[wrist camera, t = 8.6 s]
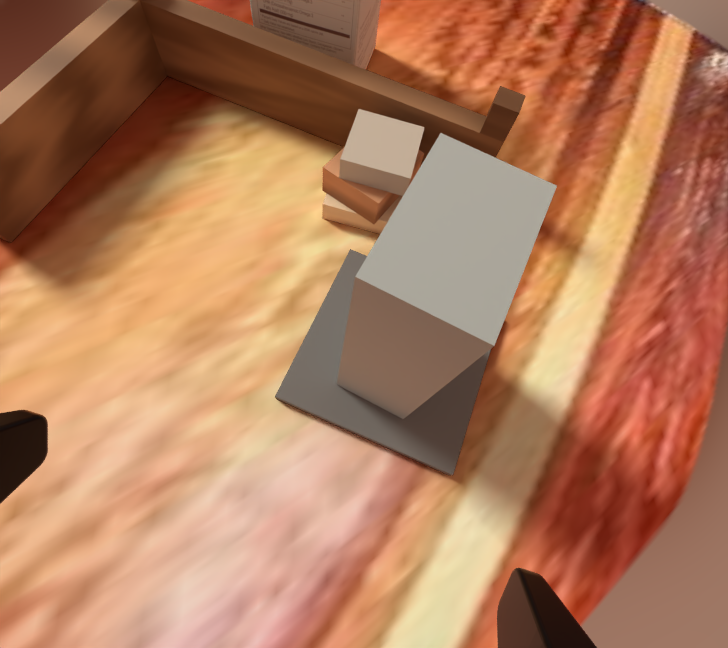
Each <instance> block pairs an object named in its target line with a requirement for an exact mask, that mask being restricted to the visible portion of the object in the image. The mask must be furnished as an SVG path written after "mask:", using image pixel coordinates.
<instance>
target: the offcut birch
mask: <svg viewBox="0 0 728 648" xmlns="http://www.w3.org/2000/svg"><path fill="white" fill-rule="evenodd" d="M408 187H409V186H408ZM402 197H403V196H401V195H400V196H399V197H398V198H397V199H396V200H395V202H394V203H393V204H392V205H391V206H390V207H389V208H388V210H387V211H386V212H385V213H384V214H383V215H382V216H381V217H380V219H379V220H378V221H377V222H376V223H375V224H372V223H371V222H369V221H368V220H366V219H365V218H363V217H362V216H360V215H359V214H357V213H356V212H354V211H353V210H351V209H350V208H348V207H347V206H345V205H344V204H342V203H341V202H339V201H338V200H336V199H335V198H333V197H332V196H330V195H329V194H326V196H325V199H324V202H323V216H322V218H324V219H327V220H331V221H334V222H338V223H342V224H345V225H349V226H352V227H356V228H359V229H363V230H367V231H370V232H374V233H377V234H381V232H382V231H383V229H384V227H385V226H386V224H387V222H388V221H389V219H390V217H391V215H392V214H393V212H394V210H395V209H396V207H397V205H398V204H399V202H400V200H401V199H402Z"/></svg>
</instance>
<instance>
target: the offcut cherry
mask: <svg viewBox="0 0 728 648" xmlns="http://www.w3.org/2000/svg"><path fill="white" fill-rule="evenodd" d="M344 148H345V147H344ZM344 148H343V149H342V150H341V151H339V152H338V153H337V154H336V155H335V156H334V157H333V158H332V159H331V160H330V161H329V162H328V163H327V164H326V165H325V166H324V167H323V191H324V192H326V193H327V194H329V195H330V196H332V197H333V198H335V199H336V200H338V201H339V202H341V203H342V204H344V205H345V206H347V207H348V208H350V209H351V210H353V211H354V212H356V213H357V214H359V215H360V216H362V217H363V218H365V219H366V220H368V221H369V222H371V223H372V224H375V223H376V222H377V221H378V220H379V219H380V217H381V216H382V215H383V214H384V213H385V212H386V211H387V210H388V208H389V207H390V206H391V205H392V204H393V203H394V202H395V200H396V199H397V198H398V197H399V196H400V195H397V194H394V193H390V192H387V191H383V190H380V189H376V188H373V187H369V186H366V185H362V184H359V183H355V182H352V181H348V180H344V179H341V178H339V171H340V158H341V156H342V153H343V150H344ZM423 156H424V153H423V152H422V151H420V150H418V154H417V157H416V161H415V165H414V169H413V172H412V176H411V180H410V183H409V185H410V184H411V182H412V180H413V179H414V177H415V175H416V173H417V172H418V170H419V168H420V165H421V162H422V159H423Z"/></svg>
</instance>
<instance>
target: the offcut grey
mask: <svg viewBox="0 0 728 648" xmlns="http://www.w3.org/2000/svg"><path fill="white" fill-rule="evenodd" d="M424 128H425V127H422V126H418V125H415V124H411V123H408V122H404V121H401V120H397V119H393V118H390V117H386V116H383V115H379V114H375V113H372V112H368V111H365V110H361V109H358V112H357V115H356V118H355V120H354V123H353V126H352V128H351V131H350V134H349V137H348V139H347V142H346V145H345V148H344V150H343V153H342V156H341V158H340V171H339V178H341V179H344V180H348V181H352V182H355V183H359V184H362V185H366V186H369V187H373V188H376V189H380V190H383V191H387V192H390V193H394V194H397V195H401V196H403V195H404V194H405V192H406V190H407V189H408V186H409V183H410V180H411V176H412V172H413V169H414V165H415V161H416V157H417V154H418V150H419V146H420V143H421V139H422V135H423V131H424Z"/></svg>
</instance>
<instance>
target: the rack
mask: <svg viewBox="0 0 728 648" xmlns="http://www.w3.org/2000/svg"><path fill="white" fill-rule="evenodd" d="M167 76H169V77H171V78H174V79H176V80H179V81H181V82H184V83H186V84H189V85H191V86H193V87H196V88H198V89H201V90H203V91H206V92H208V93H211V94H213V95H216V96H218V97H221V98H223V99H226V100H228V101H231V102H233V103H236V104H238V105H241V106H243V107H246V108H248V109H251V110H253V111H256V112H258V113H261V114H263V115H266V116H268V117H271V118H273V119H276V120H278V121H281V122H283V123H286V124H288V125H291V126H293V127H296V128H298V129H301V130H303V131H306V132H308V133H311V134H313V135H316V136H318V137H321V138H323V139H326V140H328V141H331V142H333V143H336V144H338V145H341V146H343V147H345V145H346V142H347V139H348V137H349V134H350V131H351V128H352V126H353V123H354V120H355V118H356V115H357V112H358V109H361V110H365V111H368V112H372V113H375V114H379V115H383V116H386V117H390V118H393V119H397V120H401V121H404V122H408V123H411V124H415V125H418V126H422V127H425V128H424V131H423V135H422V139H421V143H420V146H419V150H420V151H422V152H423V153H424V156H423V159H422V162H421V165H422V163H423V162H424V160H425V158H426V157H427V155H428V153H429V152H430V150H431V148H432V147H433V145H434V143H435V142H436V140H437V138H438V137H439V135H440V133H442V134H444V135H447V136H449V137H451V138H453V139H455V140H458V141H460V142H462V143H464V144H466V145H469V146H471V147H473V148H475V149H477V150H480V151H482V152H484V153H486V154H488V155H491V156H493V157H496V155H497V154H498V152H499V150H500V148H501V146H502V144H503V142H504V141H505V139H506V137H507V135H508V133H509V131H510V129H511V127H512V126H513V124H514V122H515V120H516V118H517V116H518V114H519V112H520V110H521V107H522V104H523V101H524V99H525V95H522V94H520V93H517V92H515V91H512V90H509V89H507V88H504V87H502V86H500V88H499V90H498V92H497V94H496V96H495V99H494V101H493V103H492V105H491V107H490V110H489V112H488V114H487V116H484V115H481V114H479V113H476V112H474V111H471V110H468V109H466V108H463V107H461V106H458V105H456V104H453V103H450V102H448V101H445V100H443V99H440V98H437V97H435V96H432V95H430V94H427V93H425V92H422V91H419V90H417V89H414V88H412V87H409V86H407V85H404V84H401V83H399V82H396V81H394V80H391V79H389V78H386V77H383V76H381V75H378V74H376V73H373V72H370V71H368V70H365V69H363V68H360V67H358V66H355V65H352V64H350V63H347V62H345V61H342V60H340V59H337V58H334V57H332V56H329V55H327V54H324V53H322V52H319V51H316V50H314V49H311V48H309V47H306V46H303V45H301V44H298V43H296V42H293V41H291V40H288V39H285V38H283V37H280V36H278V35H275V34H273V33H270V32H267V31H265V30H262V29H260V28H257V27H254V26H252V25H249V24H247V23H244V22H242V21H239V20H236V19H234V18H231V17H229V16H226V15H224V14H221V13H218V12H216V11H213V10H211V9H208V8H206V7H203V6H200V5H198V4H195V3H193V2H190V1H187V0H108V1H107V2H106V3H104V4H103V5H102V6H101V7H99V8H98V9H97V10H96V11H95V12H94V13H93V14H91V15H90V16H89V17H88V18H87V19H85V20H84V21H83V22H82V23H81V24H80V25H78V26H77V27H76V28H75V29H74V30H72V31H71V32H70V33H69V34H68V35H67V36H65V37H64V38H63V39H62V40H61V41H60V42H58V43H57V44H56V45H55V46H54V47H53V48H52V49H50V50H49V51H48V52H47V53H46V54H44V55H43V56H42V57H41V58H40V59H39V60H37V61H36V62H35V63H34V64H33V65H31V66H30V67H29V68H28V69H27V70H26V71H24V72H23V73H22V74H21V75H20V76H19V77H17V78H16V79H15V80H14V81H13V82H11V83H10V84H9V85H8V86H7V87H6V88H4V89H3V90H2V91H1V92H0V238H1V239H3V240H5V241H8V242H10V243H11V242H12V241H13V240H14V239H15V238H16V237H17V236H18V235H19V234H20V233H21V232H22V230H23V229H24V228H25V227H26V226H27V225H28V224H29V223H30V222H31V221H32V220H33V219H34V218H35V217H36V216H37V214H38V213H39V212H40V211H41V210H42V209H43V208H44V207H45V206H46V205H47V204H48V203H49V202H50V201H51V200H52V199H53V197H54V196H55V195H56V194H57V193H58V192H59V191H60V190H61V189H62V188H63V187H64V186H65V185H66V184H67V183H68V181H69V180H70V179H71V178H72V177H73V176H74V175H75V174H76V173H77V172H78V171H79V170H80V169H81V168H82V167H83V166H84V164H85V163H86V162H87V161H88V160H89V159H90V158H91V157H92V156H93V155H94V154H95V153H96V152H97V151H98V150H99V148H100V147H101V146H102V145H103V144H104V143H105V142H106V141H107V140H108V139H109V138H110V137H111V136H112V135H113V134H114V133H115V131H116V130H117V129H118V128H119V127H120V126H121V125H122V124H123V123H124V122H125V121H126V120H127V119H128V118H129V117H130V115H131V114H132V113H133V112H134V111H135V110H136V109H137V108H138V107H139V106H140V105H141V104H142V103H143V102H144V101H145V100H146V98H147V97H148V96H149V95H150V94H151V93H152V92H153V91H154V90H155V89H156V88H157V87H158V86H159V85H160V84H161V82H162V81H163V80H164V79H165V78H166V77H167ZM421 165H420V167H421Z"/></svg>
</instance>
